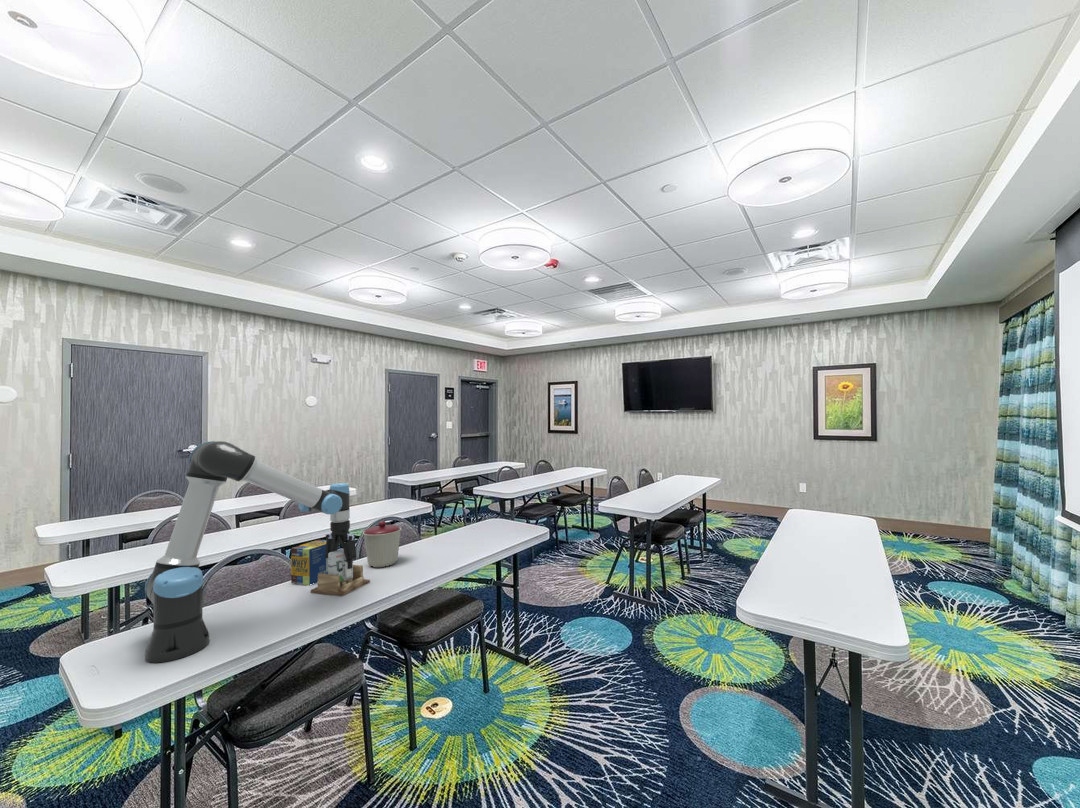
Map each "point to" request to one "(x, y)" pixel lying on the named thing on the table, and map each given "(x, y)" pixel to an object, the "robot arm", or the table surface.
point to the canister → (382, 544)
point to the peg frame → (340, 583)
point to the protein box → (308, 562)
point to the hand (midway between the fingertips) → (340, 575)
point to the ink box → (338, 564)
